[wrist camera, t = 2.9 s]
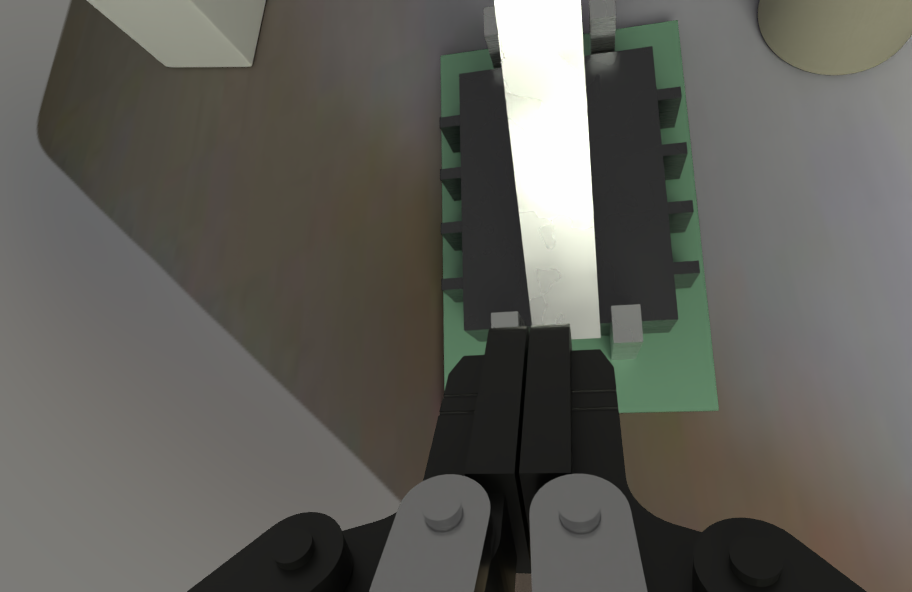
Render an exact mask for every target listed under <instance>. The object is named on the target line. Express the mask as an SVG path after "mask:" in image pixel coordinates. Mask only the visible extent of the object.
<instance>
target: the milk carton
mask: <svg viewBox="0 0 912 592" xmlns="http://www.w3.org/2000/svg"><path fill="white" fill-rule="evenodd" d="M87 1H88V2H89V3H91V4H92V5H93V6H94V7H95V8H97V9H98V10H99V11H100V12H101V13H102V14H104V15H105V16H106V17H107V18H108V19H110V20H111V21H112V22H113V23H114V24H116V25H117V26H118V27H119V28H120V29H122V30H123V31H124V32H125V33H126V34H128V35H129V36H130V37H131V38H132V39H134V40H135V41H136V42H137V43H138V44H140V45H141V46H142V47H143V48H144V49H146V50H147V51H148V52H149V53H150V54H152V55H153V56H154V57H155V58H156V59H157V60H159V61H160V62H161V63H162V64H163V65H165V66H166V67H250V66H252V64H253V59H254V54H255V50H256V45H257V40H258V36H259V31H260V26H261V22H262V17H263V12H264V7H265V3H266V0H87Z"/></svg>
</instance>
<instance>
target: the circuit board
mask: <svg viewBox="0 0 912 592" xmlns="http://www.w3.org/2000/svg"><path fill="white" fill-rule="evenodd" d="M649 46H653V57H654V67H655V78H656V88H657V89H665V88H672V87H680V86H681V94H682V99H681V103H680V107H679V111H678V115H677V119H676V123H675V127H674V128H665V129H660V130H661V141H662V145H663V144H672V143H681V142H687V152H688V154H687V157H686V160H685V163H684V167H683V170H682V173H681V176H680V179H673V180H665V183H666V194H667V202H675V201H686V200H693V209H694V212H693V215H692V217H691V219H690V222H689V224H688V227H687V229H686V231H685V232H683V233H670V236H671V246H672V257H673V262H683V261H697V260H699V267H700V274H699V275H698V277H697V279H696V280H695V282H694V283H693V285H692V287H691V288H682V289H676V299H677V309H678V321H677V322H676V324H675V325H674V326H673V328H672V329H671V331H670V332H669V333H651V334H643V344H642V346H641V348H640V350H639V352H638V354H637V356H636V358H635V359H626V360H611V348H610V335H609V336H601V338H590V339H571V340H572V350H593V349H600V350H601V351H602V352H603V353H604V355H605V356H606V357H607V359H608V360H609V361H610V363H611V364H612V365H613V366H614V371H615V381H616V391H617V400H618V411H619V413H648V412H694V411H718V410H719V408H718V398H717V389H716V379H715V370H714V360H713V351H712V341H711V332H710V323H709V313H708V304H707V294H706V285H705V275H704V266H703V256H702V247H701V237H700V228H699V219H698V209H697V200H696V190H695V181H694V171H693V162H692V152H691V143H690V133H689V124H688V115H687V105H686V96H685V86H684V77H683V67H682V58H681V48H680V39H679V29H678V20H675V21H668V22H661V23H655V24H648V25H641V26H635V27H628V28H622V29H616V30H615V51H622V50H629V49H636V48H642V47H649ZM583 50H584V56H587V55H590V33H588V34H583ZM489 69H494V67H493V63H492V60H491V57H490V53H489V50H488V49H483V50H476V51H469V52H463V53H456V54H450V55H443V56H441V117H448V116H455V115H460V99H459V74H462V73H469V72H475V71H482V70H489ZM441 133H442V131H441ZM455 167H461V153H460V152H458V153H453V152H452V150H451V148H450V146H449V144H448V142H447V140H446V138H445V137H444V135H443V133H442V169H446V168H455ZM442 219H443V223H445V222H456V221H462V206H461V200H460V201H454V200H453V199H452V197H451V196H450V194H449V192H448V191H447V189H446V188H445V186H444V185H443V183H442ZM459 277H463V259H462V250H460V251H455V250H454V249H453V248H452V247H451V246H450V244H449V243H448V242H447V241H446V239H445V238H444V237H443V279H445V278H459ZM443 304H444V390H445V387H446V383H447V379H448V374H449V373H450V372H451V370H452V369H453V368H454V367H455V366H456V364H457V363H458V362H459V361H460V359H461V358H462V357H463V356H469V355H484V354H485V348H486V342H487V341H485V342H479V341H477V340H476V339H475V338H473V337H472V336H471V335H469V334H468V333H466V332H465V331H464V313H463V302H458V303H456V302H454V301H453V300H452V299H451V298H450V297H449V296H448V295H446V294H445V293H444V292H443Z"/></svg>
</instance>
